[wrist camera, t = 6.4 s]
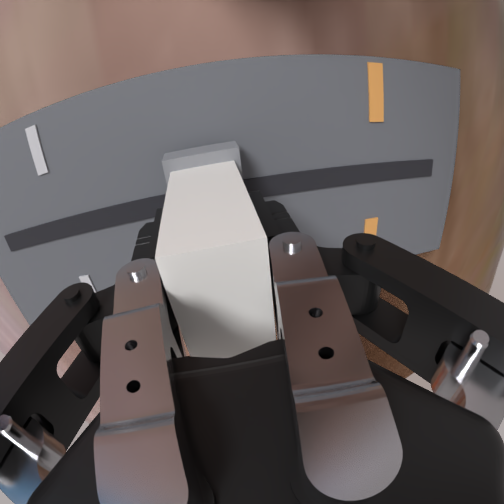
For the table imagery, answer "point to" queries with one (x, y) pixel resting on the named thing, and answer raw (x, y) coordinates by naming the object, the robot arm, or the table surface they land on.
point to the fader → (214, 253)
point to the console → (251, 155)
